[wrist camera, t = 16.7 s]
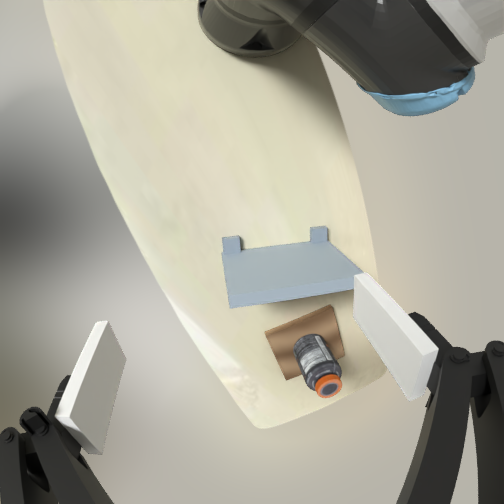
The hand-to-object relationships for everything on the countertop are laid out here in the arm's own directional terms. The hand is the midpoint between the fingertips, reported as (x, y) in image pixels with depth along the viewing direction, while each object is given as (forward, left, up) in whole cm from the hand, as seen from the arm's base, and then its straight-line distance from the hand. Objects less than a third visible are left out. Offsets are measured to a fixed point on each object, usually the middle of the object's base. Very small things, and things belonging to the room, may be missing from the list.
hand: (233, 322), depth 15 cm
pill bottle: (+8, +28, -28) cm, 40 cm away
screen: (-1, +11, -29) cm, 31 cm away
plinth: (+8, +28, -29) cm, 41 cm away
